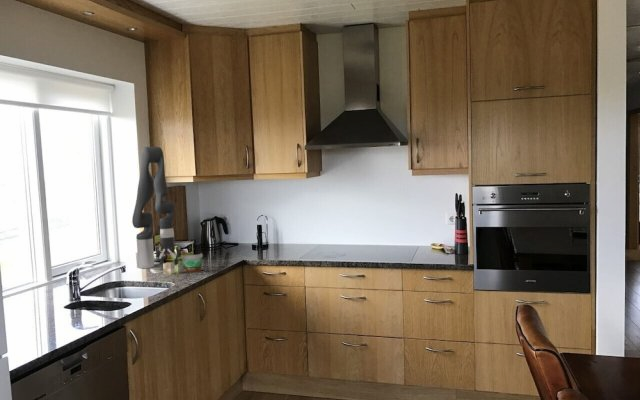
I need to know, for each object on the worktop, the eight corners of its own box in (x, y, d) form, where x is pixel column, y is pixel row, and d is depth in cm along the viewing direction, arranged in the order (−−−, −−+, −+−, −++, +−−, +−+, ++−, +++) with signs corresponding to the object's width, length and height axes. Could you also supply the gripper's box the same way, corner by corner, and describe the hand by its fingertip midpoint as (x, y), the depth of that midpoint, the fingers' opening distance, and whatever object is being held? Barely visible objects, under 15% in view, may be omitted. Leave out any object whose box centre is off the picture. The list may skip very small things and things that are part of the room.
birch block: (163, 274, 294) (162, 264, 293) (167, 272, 298) (167, 262, 298) (170, 274, 293) (170, 264, 292) (174, 272, 297) (174, 262, 297)
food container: (181, 274, 293) (180, 256, 292) (181, 271, 299) (180, 254, 298) (204, 272, 296) (203, 254, 296) (203, 269, 302) (202, 252, 301)
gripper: (152, 237, 292) (154, 266, 293) (175, 237, 289) (177, 266, 290) (159, 235, 299) (161, 263, 300) (181, 235, 296) (183, 263, 297)
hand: (169, 264), depth 295 cm, fingers open, 8 cm apart
